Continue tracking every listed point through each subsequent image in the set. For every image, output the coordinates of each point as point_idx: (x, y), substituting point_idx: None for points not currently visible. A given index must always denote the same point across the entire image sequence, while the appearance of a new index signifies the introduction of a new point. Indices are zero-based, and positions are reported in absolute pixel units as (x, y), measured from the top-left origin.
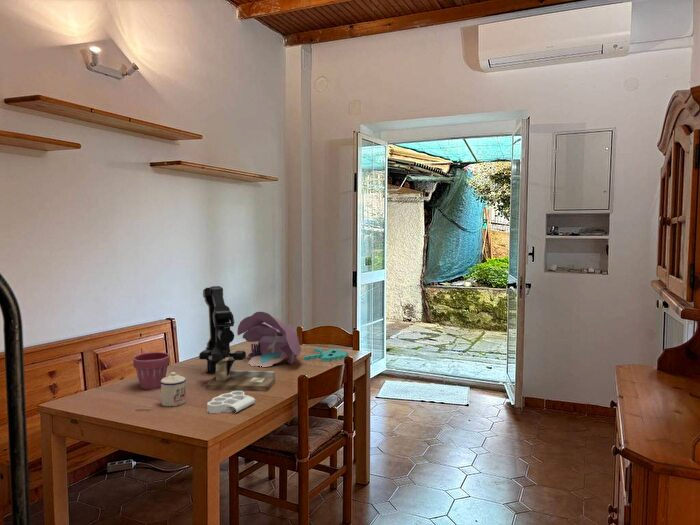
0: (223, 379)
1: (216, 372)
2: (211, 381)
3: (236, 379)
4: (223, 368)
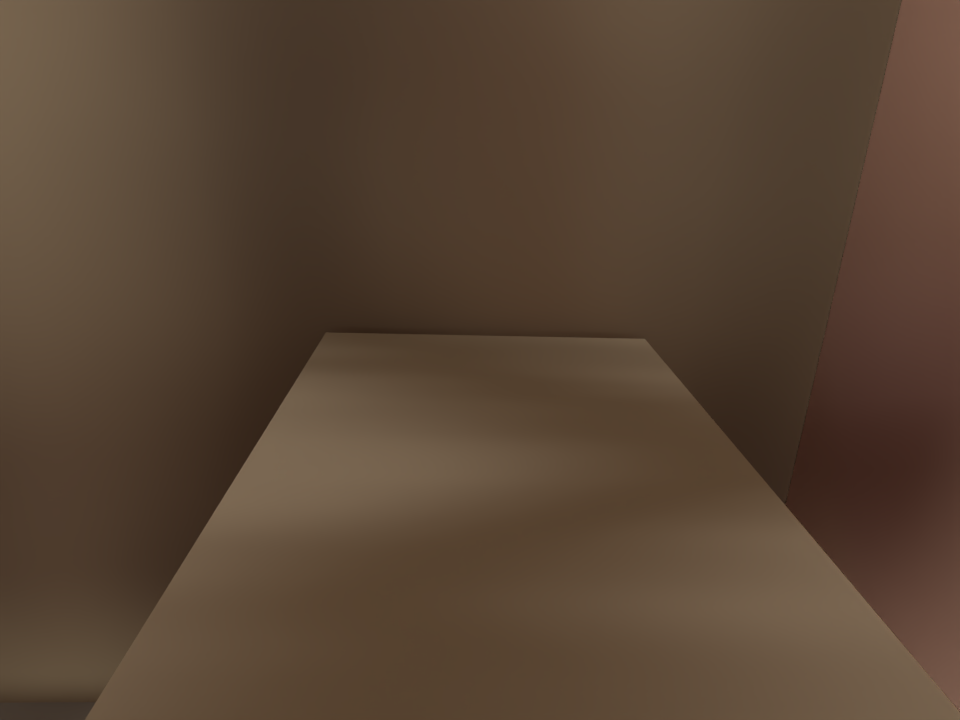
0: (383, 344)
1: (734, 483)
2: (776, 274)
3: (63, 519)
4: (275, 672)
